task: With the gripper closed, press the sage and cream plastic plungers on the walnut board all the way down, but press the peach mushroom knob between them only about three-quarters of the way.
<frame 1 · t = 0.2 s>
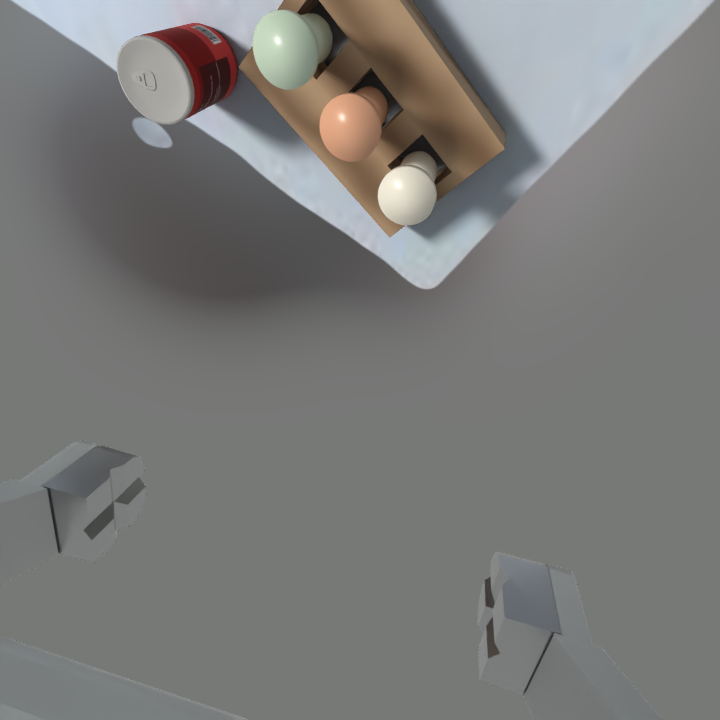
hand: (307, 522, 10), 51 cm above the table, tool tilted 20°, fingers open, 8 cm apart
peach mushroom knob: (359, 118, 45), point 9 cm above the table, slide at 0.0 cm
canned food: (208, 62, 54), on the table
cream plunger: (412, 183, 47), point 9 cm above the table, slide at 0.0 cm
walnut board: (380, 95, 51), on the table
sage plunger: (299, 45, 42), point 9 cm above the table, slide at 0.0 cm
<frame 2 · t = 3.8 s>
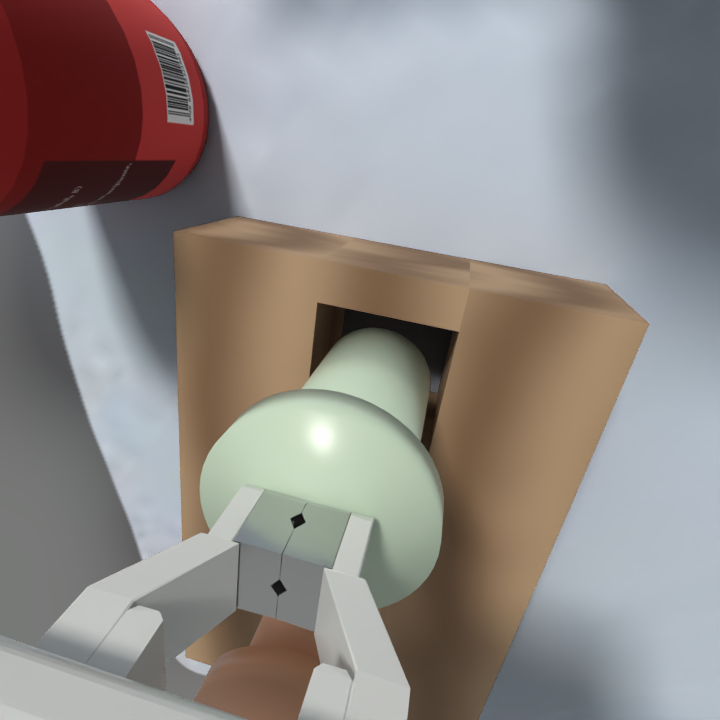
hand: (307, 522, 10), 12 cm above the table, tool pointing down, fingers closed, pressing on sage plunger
peach mushroom knob: (318, 628, 17), point 9 cm above the table, slide at 0.0 cm
canned food: (135, 101, 20), on the table
walnut board: (369, 472, 25), on the table
sage plunger: (352, 432, 14), point 9 cm above the table, slide at 0.6 cm, touching gripper
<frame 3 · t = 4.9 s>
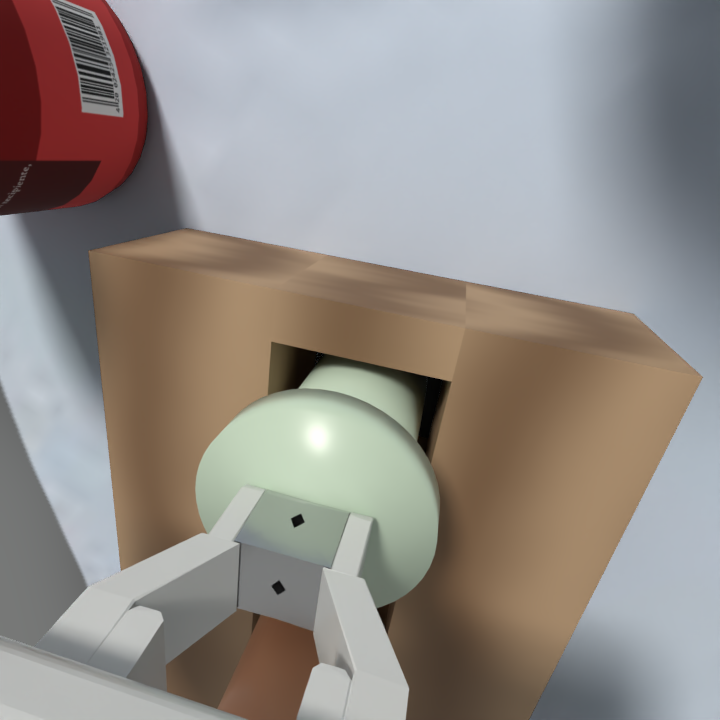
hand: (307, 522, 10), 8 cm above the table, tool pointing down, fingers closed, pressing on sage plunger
canned food: (60, 89, 17), on the table
walnut board: (350, 524, 21), on the table
sage plunger: (349, 432, 14), point 5 cm above the table, slide at 4.5 cm, touching gripper
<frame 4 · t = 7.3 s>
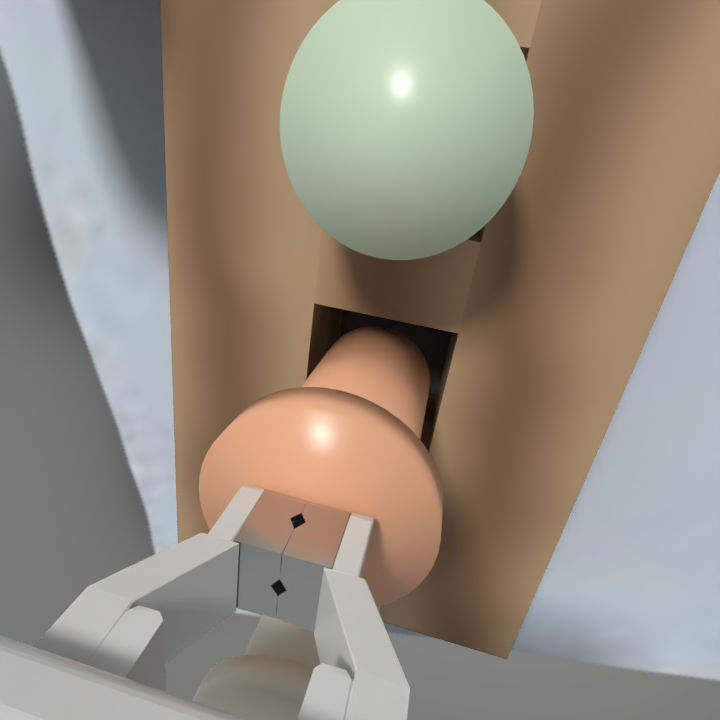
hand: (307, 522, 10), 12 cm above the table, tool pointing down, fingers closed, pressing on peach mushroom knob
peach mushroom knob: (352, 431, 14), point 8 cm above the table, slide at 0.9 cm, touching gripper
cream plunger: (315, 635, 16), point 9 cm above the table, slide at 0.0 cm
walnut board: (393, 335, 21), on the table
sage plunger: (416, 139, 14), point 5 cm above the table, slide at 4.5 cm
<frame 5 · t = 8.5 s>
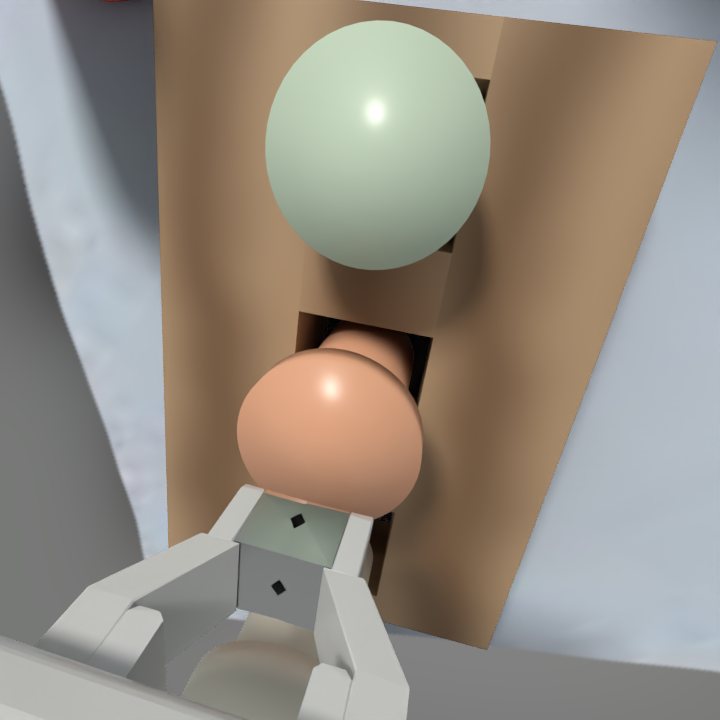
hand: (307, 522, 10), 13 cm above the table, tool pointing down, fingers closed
peach mushroom knob: (351, 393, 17), point 6 cm above the table, slide at 3.5 cm
cream plunger: (303, 626, 17), point 9 cm above the table, slide at 0.0 cm
walnut board: (375, 342, 22), on the table
sage plunger: (391, 160, 15), point 5 cm above the table, slide at 4.5 cm
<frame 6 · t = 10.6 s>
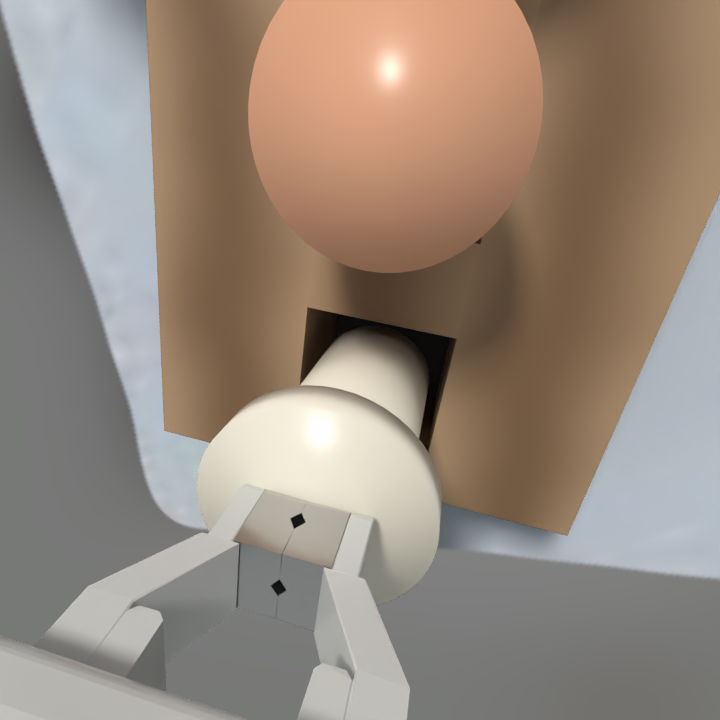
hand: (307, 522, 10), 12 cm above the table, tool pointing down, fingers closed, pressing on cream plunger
peach mushroom knob: (409, 135, 12), point 6 cm above the table, slide at 3.5 cm
cream plunger: (350, 430, 14), point 8 cm above the table, slide at 1.5 cm, touching gripper
walnut board: (427, 143, 17), on the table
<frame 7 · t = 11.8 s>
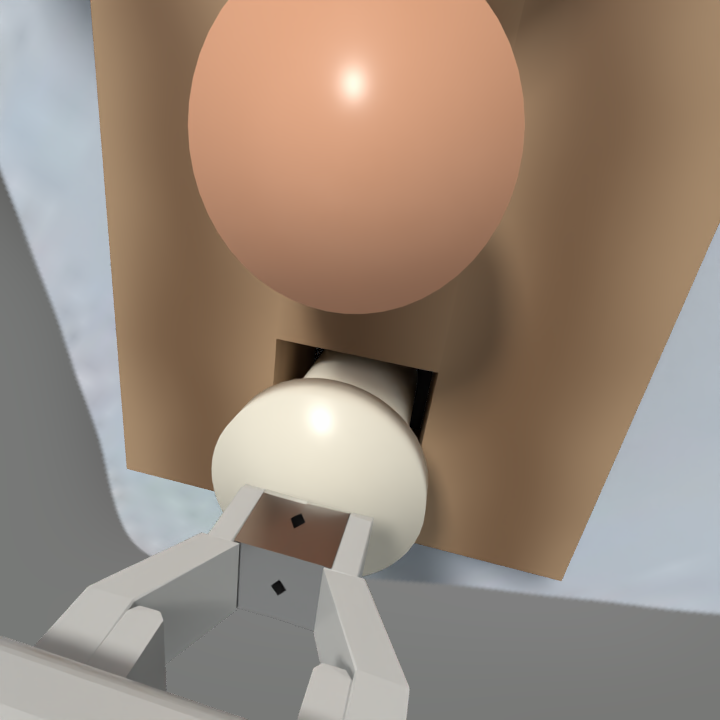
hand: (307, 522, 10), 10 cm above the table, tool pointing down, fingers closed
peach mushroom knob: (380, 155, 11), point 6 cm above the table, slide at 3.5 cm
cream plunger: (347, 421, 15), point 5 cm above the table, slide at 4.5 cm
walnut board: (406, 160, 16), on the table
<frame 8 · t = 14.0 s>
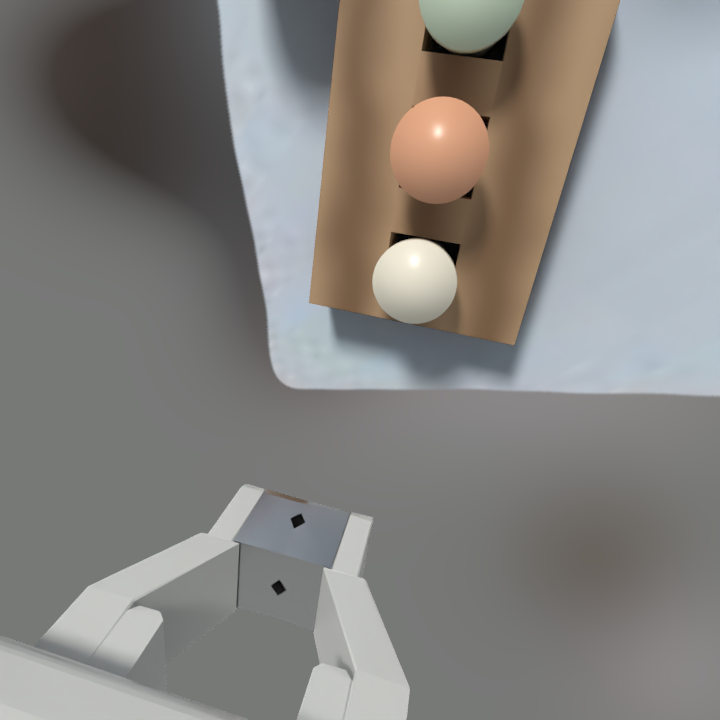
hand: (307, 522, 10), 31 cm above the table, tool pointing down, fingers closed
peach mushroom knob: (441, 153, 30), point 6 cm above the table, slide at 3.5 cm
cream plunger: (419, 271, 34), point 5 cm above the table, slide at 4.5 cm
walnut board: (445, 154, 35), on the table
sage plunger: (471, 7, 27), point 5 cm above the table, slide at 4.5 cm
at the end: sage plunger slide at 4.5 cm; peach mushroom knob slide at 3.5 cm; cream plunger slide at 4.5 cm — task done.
